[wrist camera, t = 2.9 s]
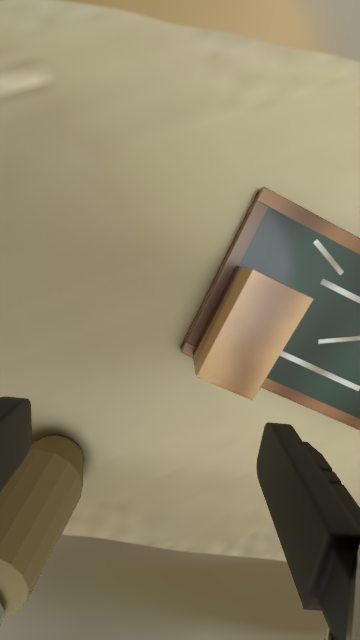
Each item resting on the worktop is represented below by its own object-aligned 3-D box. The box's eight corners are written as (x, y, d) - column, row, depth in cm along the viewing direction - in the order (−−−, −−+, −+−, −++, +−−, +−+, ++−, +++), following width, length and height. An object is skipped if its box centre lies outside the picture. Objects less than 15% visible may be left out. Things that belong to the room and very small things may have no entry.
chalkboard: (180, 348, 26) (180, 352, 25) (259, 189, 22) (263, 186, 21) (361, 426, 28) (369, 434, 27) (458, 296, 25) (472, 298, 23)
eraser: (192, 352, 25) (195, 376, 20) (236, 265, 22) (253, 268, 18) (238, 372, 25) (252, 400, 20) (285, 289, 23) (314, 298, 18)
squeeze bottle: (12, 470, 29) (-231, 790, 12) (34, 414, 27) (-216, 694, 10) (79, 494, 30) (-54, 822, 13) (104, 441, 28) (-12, 740, 11)
